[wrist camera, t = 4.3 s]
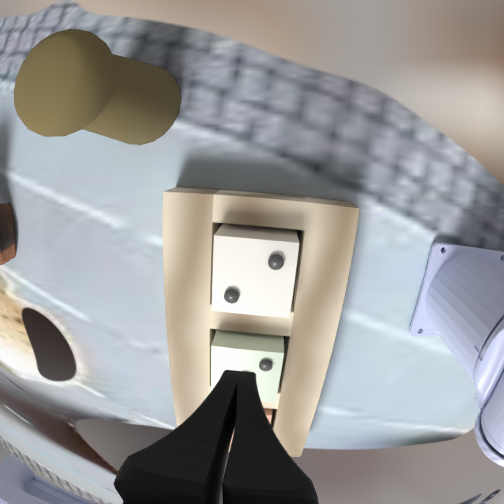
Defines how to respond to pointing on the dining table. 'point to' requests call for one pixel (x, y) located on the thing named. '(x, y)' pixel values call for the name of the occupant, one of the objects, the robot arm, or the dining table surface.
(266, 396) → the three dot key
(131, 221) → the dining table surface
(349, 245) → the wooden puzzle board
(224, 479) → the robot arm
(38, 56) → the cork
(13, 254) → the pottery mug
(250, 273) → the two dot key
